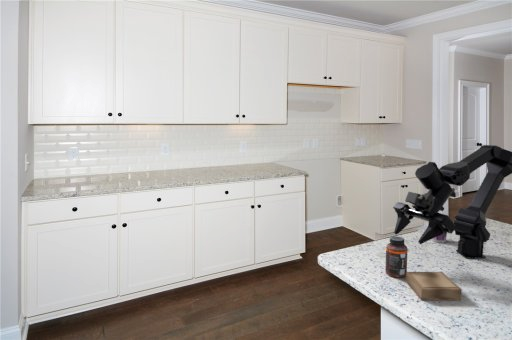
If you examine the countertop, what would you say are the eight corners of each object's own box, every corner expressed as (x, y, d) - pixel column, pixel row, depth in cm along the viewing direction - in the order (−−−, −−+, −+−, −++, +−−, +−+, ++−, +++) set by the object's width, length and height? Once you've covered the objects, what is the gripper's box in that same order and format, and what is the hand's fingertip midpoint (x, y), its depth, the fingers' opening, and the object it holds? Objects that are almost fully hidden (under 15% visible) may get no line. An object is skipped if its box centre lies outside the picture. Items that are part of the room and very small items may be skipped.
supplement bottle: (408, 279, 97) (410, 242, 96) (387, 277, 98) (388, 241, 97) (404, 270, 103) (405, 235, 101) (383, 269, 104) (384, 234, 103)
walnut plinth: (441, 281, 95) (441, 271, 95) (460, 300, 85) (461, 288, 85) (405, 281, 96) (406, 271, 95) (421, 300, 86) (421, 288, 85)
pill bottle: (427, 238, 130) (428, 214, 128) (440, 237, 130) (441, 214, 128) (435, 243, 124) (436, 218, 123) (449, 242, 124) (450, 217, 123)
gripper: (398, 178, 109) (370, 214, 106) (450, 187, 92) (419, 231, 89) (415, 198, 113) (389, 234, 110) (468, 212, 96) (438, 254, 93)
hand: (406, 238), depth 101 cm, fingers open, 9 cm apart
